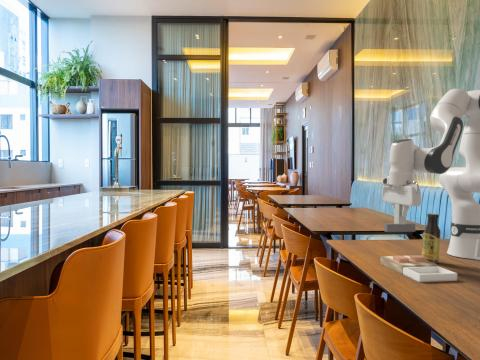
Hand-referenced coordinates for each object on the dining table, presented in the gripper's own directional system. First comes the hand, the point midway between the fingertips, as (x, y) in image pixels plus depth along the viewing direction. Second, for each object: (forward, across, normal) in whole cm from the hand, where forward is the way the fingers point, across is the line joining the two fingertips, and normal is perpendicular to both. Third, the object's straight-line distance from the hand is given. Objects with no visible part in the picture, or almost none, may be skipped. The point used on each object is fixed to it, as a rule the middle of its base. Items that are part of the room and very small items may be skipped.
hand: (400, 215), depth 141 cm
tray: (+19, -17, 0) cm, 26 cm away
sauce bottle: (+19, +2, -15) cm, 25 cm away
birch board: (+19, -5, 0) cm, 20 cm away
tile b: (+16, -6, +3) cm, 18 cm away
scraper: (+6, 0, 0) cm, 6 cm away
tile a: (+16, -6, -4) cm, 18 cm away
